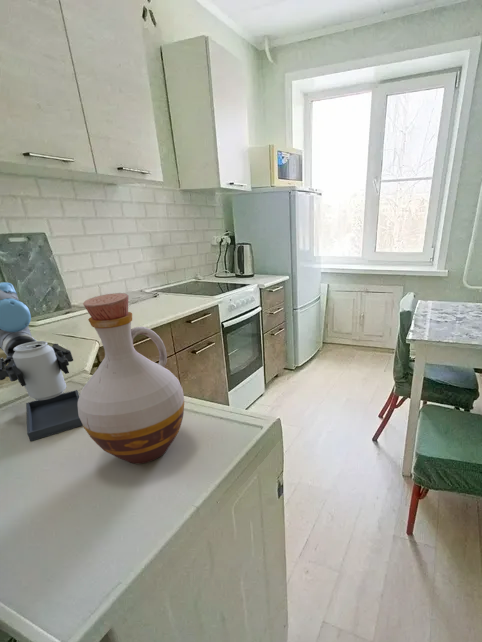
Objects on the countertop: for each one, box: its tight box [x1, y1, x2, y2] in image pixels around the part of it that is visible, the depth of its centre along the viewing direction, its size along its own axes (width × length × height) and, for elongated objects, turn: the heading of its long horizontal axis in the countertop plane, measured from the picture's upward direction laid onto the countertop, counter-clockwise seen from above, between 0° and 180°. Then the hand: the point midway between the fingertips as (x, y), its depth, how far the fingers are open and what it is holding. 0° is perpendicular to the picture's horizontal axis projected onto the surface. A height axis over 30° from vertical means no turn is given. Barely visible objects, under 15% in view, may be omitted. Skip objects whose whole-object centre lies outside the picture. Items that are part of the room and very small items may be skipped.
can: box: [12, 340, 67, 401], centre depth 78 cm, size 8×8×12 cm
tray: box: [25, 389, 83, 442], centre depth 83 cm, size 17×11×2 cm, turn 35°
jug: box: [78, 292, 185, 465], centre depth 64 cm, size 20×18×30 cm
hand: (44, 373), depth 75 cm, fingers closed on can, 7 cm apart
